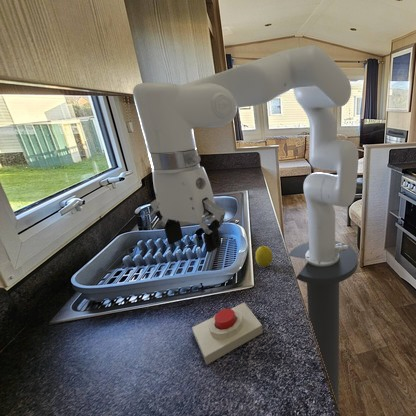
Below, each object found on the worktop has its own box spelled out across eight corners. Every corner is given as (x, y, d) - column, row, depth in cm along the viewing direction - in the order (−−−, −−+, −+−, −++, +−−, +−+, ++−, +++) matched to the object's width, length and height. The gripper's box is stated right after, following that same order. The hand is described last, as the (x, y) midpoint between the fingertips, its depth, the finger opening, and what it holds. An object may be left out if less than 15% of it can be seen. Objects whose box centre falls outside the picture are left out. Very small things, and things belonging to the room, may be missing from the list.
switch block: (245, 309, 69) (243, 297, 68) (262, 332, 62) (261, 319, 61) (193, 335, 62) (190, 322, 60) (206, 365, 55) (203, 351, 53)
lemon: (268, 273, 84) (265, 251, 81) (253, 269, 86) (250, 248, 83) (276, 263, 89) (274, 243, 86) (262, 261, 91) (260, 240, 88)
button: (231, 312, 64) (230, 305, 63) (238, 323, 60) (237, 316, 60) (213, 321, 61) (211, 314, 60) (219, 333, 58) (218, 326, 57)
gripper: (229, 158, 47) (241, 242, 53) (158, 154, 52) (177, 231, 59) (197, 167, 40) (216, 262, 46) (120, 162, 46) (146, 247, 52)
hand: (194, 245), depth 52 cm, fingers open, 9 cm apart
